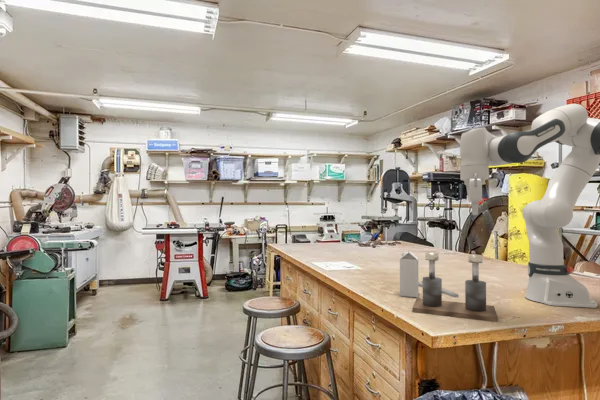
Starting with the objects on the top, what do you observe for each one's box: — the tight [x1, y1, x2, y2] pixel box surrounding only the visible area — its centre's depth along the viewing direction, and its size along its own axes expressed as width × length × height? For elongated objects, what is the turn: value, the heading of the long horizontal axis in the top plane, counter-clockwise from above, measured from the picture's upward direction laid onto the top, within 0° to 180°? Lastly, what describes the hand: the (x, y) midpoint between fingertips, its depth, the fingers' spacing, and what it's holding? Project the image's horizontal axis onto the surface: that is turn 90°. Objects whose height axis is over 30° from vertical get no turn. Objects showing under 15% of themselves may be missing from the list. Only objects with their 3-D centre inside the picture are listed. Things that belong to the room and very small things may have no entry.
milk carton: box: [399, 247, 419, 298], centre depth 148 cm, size 7×7×19 cm
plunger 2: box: [467, 253, 484, 282], centre depth 123 cm, size 4×4×9 cm
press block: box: [411, 276, 499, 323], centre depth 126 cm, size 26×14×11 cm, turn 66°
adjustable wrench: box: [418, 280, 459, 298], centre depth 157 cm, size 25×6×2 cm, turn 11°
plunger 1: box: [424, 251, 440, 278], centre depth 129 cm, size 4×4×9 cm
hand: (475, 215), depth 123 cm, fingers closed
